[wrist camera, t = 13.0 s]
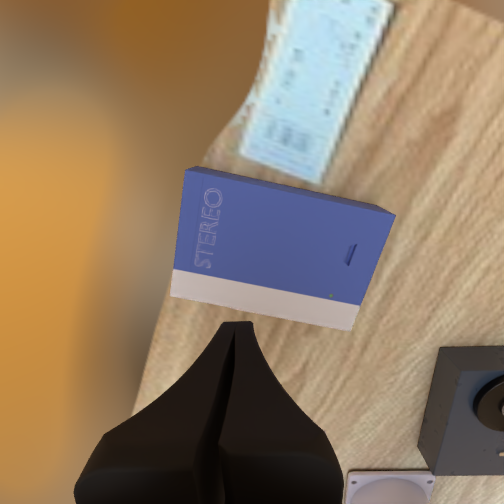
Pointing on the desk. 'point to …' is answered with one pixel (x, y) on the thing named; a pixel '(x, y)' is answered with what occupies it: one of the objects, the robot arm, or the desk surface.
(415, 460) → the desk surface
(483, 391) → the burner
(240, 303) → the walkman
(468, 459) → the hot plate
